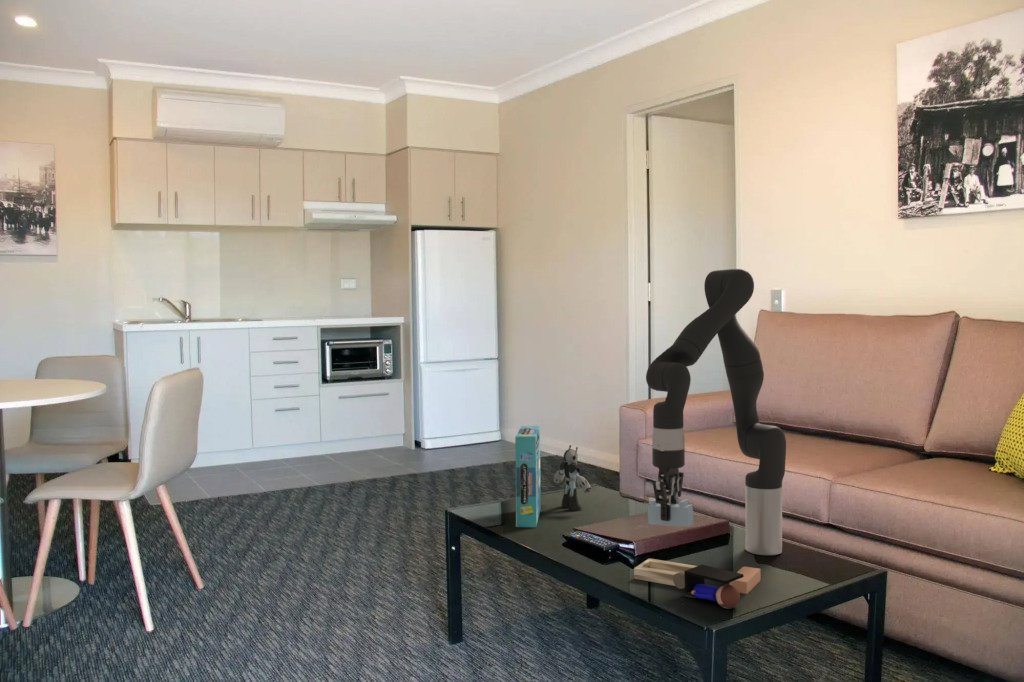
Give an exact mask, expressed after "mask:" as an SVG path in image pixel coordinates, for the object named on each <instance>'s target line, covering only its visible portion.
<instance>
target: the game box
mask: <svg viewBox="0 0 1024 682" xmlns="http://www.w3.org/2000/svg"><path fill="white" fill-rule="evenodd" d="M540 427H541V426H539V425H522V426H520V428H519V430H518V432H517V434H515V435H516V436H515V439H514V440H515V445H514V446H515V447H514V448H515V527H516V528H537V525H538V522H539V518H540V513H541V511H542V509H541V508H542V504H541V503H542V501H541V500H542V499H541V498H542V495H541V494H542V493H541V489H542V488H541V487H542V486H541V485H542V483H541V428H540Z"/></svg>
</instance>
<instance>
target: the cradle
mask: <svg viewBox="0 0 1024 682" xmlns="http://www.w3.org/2000/svg"><path fill="white" fill-rule="evenodd" d="M697 566H698V565H694V564H693V565H692V564H686V563H681V562H675V561H674V562H673V561H669V560H661V559H656V558H647V559H646V560H644V561H642V562H641V563H640V564H638V565H637V566H635V567H634V568H633V573H634V574H633V578H634V579H635V580H640V581H645V582H649V583H650V582H651V583H657V584H661V585H668V586H673V587H676V586H675V584H674V582H673V576H674V575H675V574H677V573H679V572H683V573H684V571H686V570H688V569H691V568H694V567H697Z"/></svg>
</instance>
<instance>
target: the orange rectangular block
mask: <svg viewBox="0 0 1024 682" xmlns="http://www.w3.org/2000/svg"><path fill="white" fill-rule="evenodd" d="M761 571H762V569H761V568H758V567H750V566H745V565H744V566H742V567H741V568H740V569H738V570H737V572H736V573H740V574H743V576H744V577H742V578H740V579H737V580H735V581H732V582H730V583H728V585H732V586H734V587H735V588H736V589H737V590H738V591H739V594H744V595H748V594H749V592H751V590H753V589H754V587H755V586H757V585H758V583H760V582H761V580H762V579H761V577H762V576H761Z"/></svg>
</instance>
